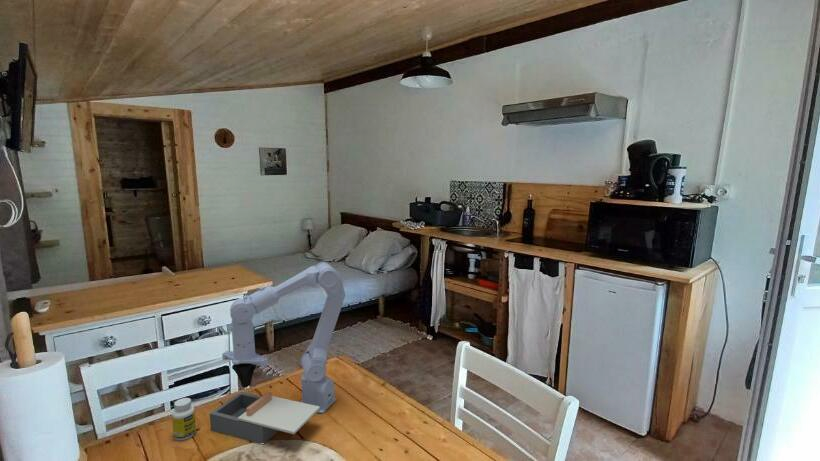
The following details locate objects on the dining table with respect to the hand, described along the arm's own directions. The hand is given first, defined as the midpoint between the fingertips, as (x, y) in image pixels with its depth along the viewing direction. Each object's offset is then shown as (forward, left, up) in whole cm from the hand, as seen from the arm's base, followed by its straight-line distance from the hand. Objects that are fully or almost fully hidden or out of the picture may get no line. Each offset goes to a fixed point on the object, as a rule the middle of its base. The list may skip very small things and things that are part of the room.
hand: (246, 385), depth 117 cm
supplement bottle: (+11, +12, -10) cm, 19 cm away
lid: (-13, +2, -5) cm, 14 cm away
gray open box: (-3, +2, -10) cm, 11 cm away
